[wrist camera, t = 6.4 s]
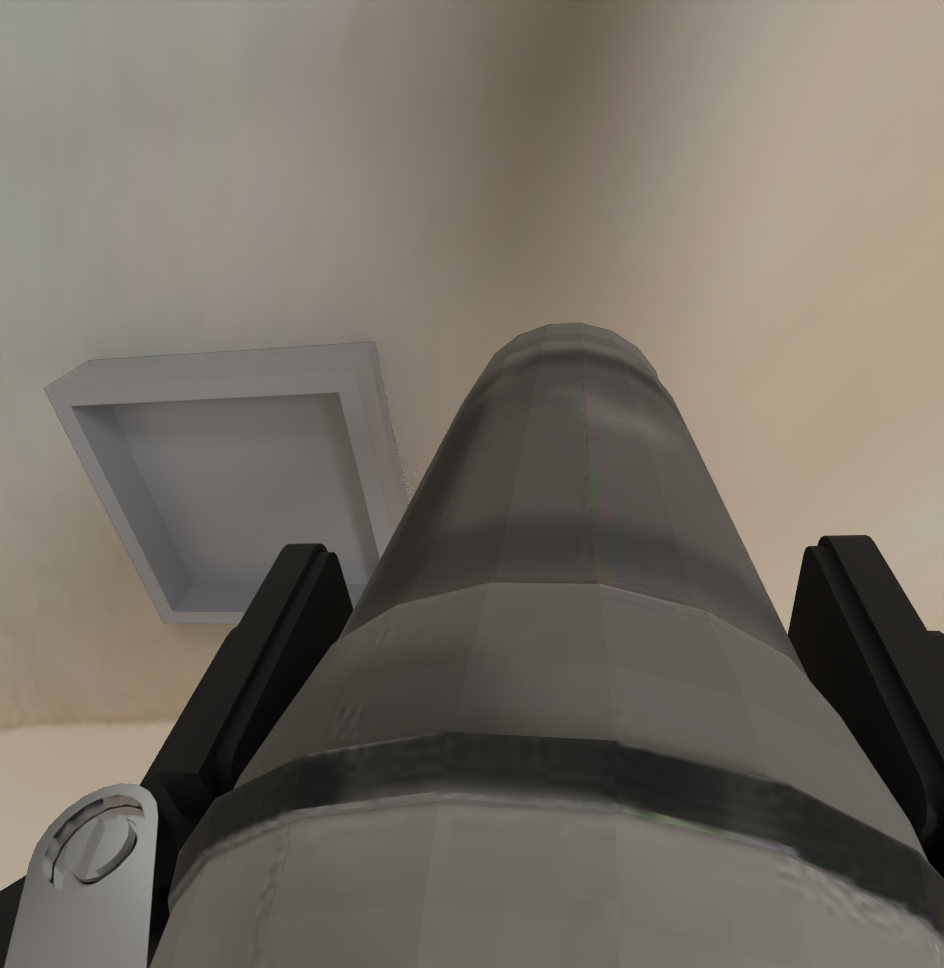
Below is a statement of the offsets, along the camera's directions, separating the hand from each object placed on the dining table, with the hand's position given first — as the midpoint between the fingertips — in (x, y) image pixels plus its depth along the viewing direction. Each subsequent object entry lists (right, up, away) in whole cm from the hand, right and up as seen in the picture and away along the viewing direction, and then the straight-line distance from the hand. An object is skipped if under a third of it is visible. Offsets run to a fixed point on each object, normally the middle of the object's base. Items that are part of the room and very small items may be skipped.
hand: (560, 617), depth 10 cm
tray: (-13, +2, +28) cm, 31 cm away
